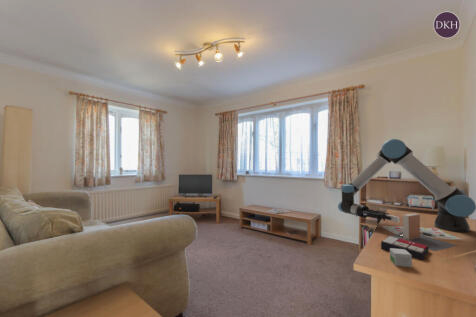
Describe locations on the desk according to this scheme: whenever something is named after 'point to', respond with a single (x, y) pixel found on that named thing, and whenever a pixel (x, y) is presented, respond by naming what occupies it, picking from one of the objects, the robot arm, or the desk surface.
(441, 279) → the desk surface
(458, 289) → the desk surface
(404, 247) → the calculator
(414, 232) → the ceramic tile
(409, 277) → the desk surface
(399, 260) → the small box
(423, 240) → the tile mat
